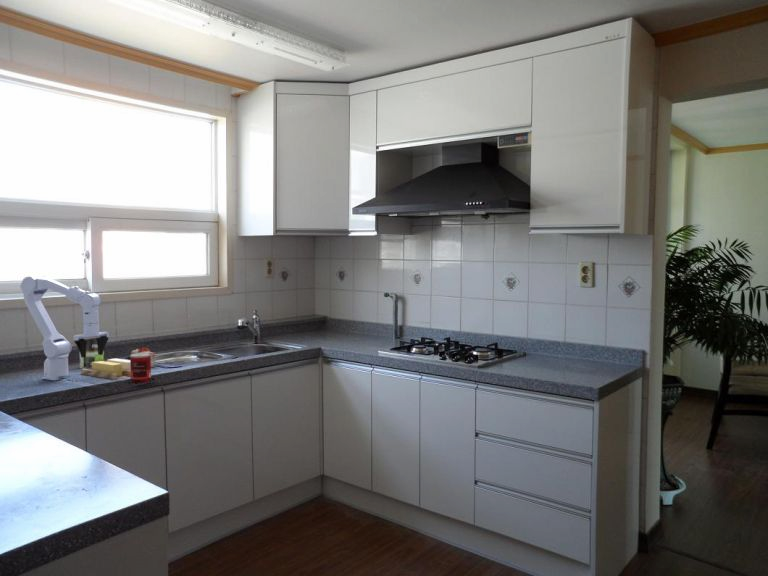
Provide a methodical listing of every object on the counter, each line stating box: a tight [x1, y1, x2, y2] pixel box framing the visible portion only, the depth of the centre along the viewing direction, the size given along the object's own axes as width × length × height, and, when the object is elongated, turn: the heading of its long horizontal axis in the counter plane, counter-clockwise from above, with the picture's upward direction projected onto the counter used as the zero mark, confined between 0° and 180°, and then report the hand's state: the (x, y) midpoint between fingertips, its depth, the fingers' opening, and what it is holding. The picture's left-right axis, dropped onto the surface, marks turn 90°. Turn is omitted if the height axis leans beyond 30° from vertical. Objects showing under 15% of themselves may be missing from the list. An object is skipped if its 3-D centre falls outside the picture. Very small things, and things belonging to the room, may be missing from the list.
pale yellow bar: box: [91, 360, 122, 377], centre depth 250 cm, size 14×4×5 cm, turn 60°
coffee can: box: [79, 336, 105, 369], centre depth 275 cm, size 10×10×14 cm
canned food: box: [129, 353, 152, 384], centre depth 244 cm, size 8×8×11 cm
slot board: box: [80, 368, 131, 380], centre depth 253 cm, size 22×16×4 cm
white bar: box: [106, 358, 131, 371], centre depth 256 cm, size 14×4×5 cm, turn 60°
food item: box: [130, 346, 157, 368], centre depth 271 cm, size 14×8×10 cm, turn 46°
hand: (92, 355), depth 247 cm, fingers open, 7 cm apart
